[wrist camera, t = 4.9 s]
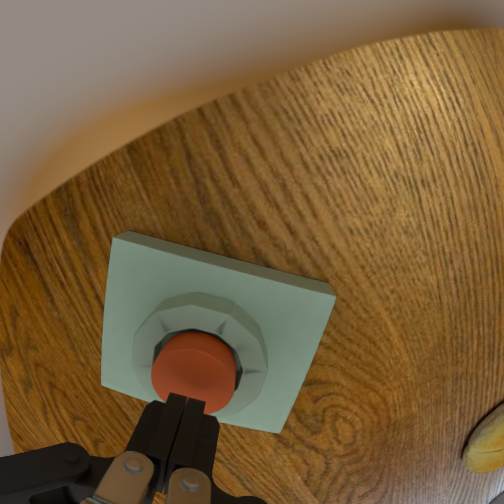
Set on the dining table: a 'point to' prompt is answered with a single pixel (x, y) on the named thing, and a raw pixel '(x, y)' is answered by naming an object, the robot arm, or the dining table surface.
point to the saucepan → (499, 499)
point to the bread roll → (486, 444)
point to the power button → (195, 370)
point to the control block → (211, 323)
